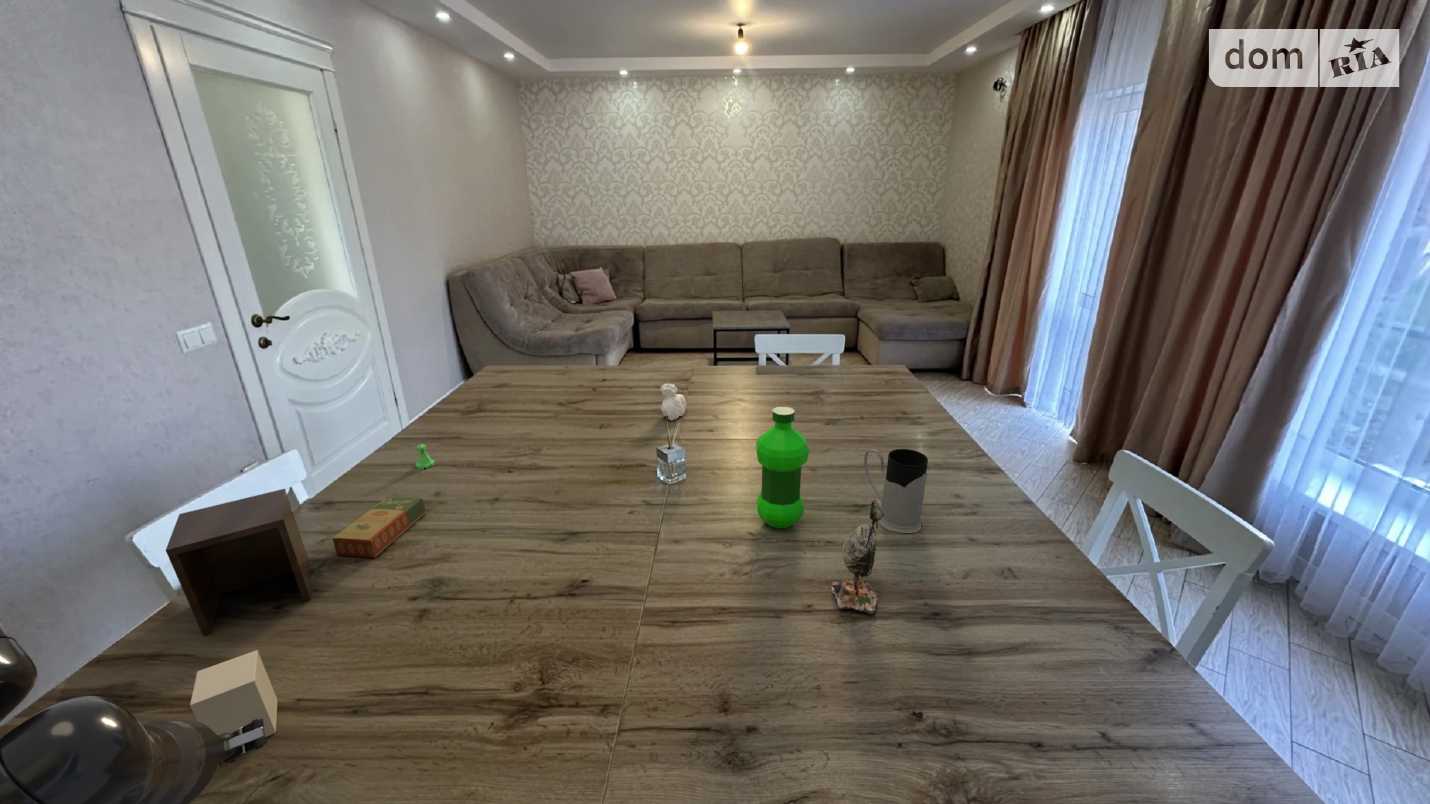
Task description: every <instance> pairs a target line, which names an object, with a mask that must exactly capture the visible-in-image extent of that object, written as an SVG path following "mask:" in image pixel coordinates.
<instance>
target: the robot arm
mask: <svg viewBox="0 0 1430 804" xmlns="http://www.w3.org/2000/svg"><path fill="white" fill-rule="evenodd" d="M37 679H38V670H37V666H36V664H35V662H34V660H33V658H32V657H31V656H30V655H29V653H28V652H27V651H26V650H25V648H24V647H23V646H22V645H21V644H20V643H19V641H18V640H17V639H16V638H15V637H14V635H13V634H12V633H11V632H10V630H9V629H8V628H7V626H5V624H4V623H3V622H2V621H1V620H0V723H1V722H2V721H3V720H4V719H6V717H8V716H9V715H10V714H11V713H12V712H13V711H14V710H15V709H16V708H17V707H18V706H19V705H20V704H21V703H22V702H23V701H24V700H25V699H26V698H27V697H28V695H29V694H30V692H31V691H32V690H33V688H34V687H35V684H36V682H37ZM267 744H268V740H267V737H266V735H265V729H264V723H263V718H262V719H259V720H258V719H256V720H253V721H252V722H251V723H249V724H247V725H246V726H244V727H241V728H239V729H237V730H236V731H235V732H233V733H224V734H220V735H217V734H216V733H215V732H214V731H213V730H212V729H210V728H209V727H208V726H206V725H205V724H203V723H200V722H198V721H197V720H191V719H164V720H163V719H158V720H148V721H146V720H145V721H139V719H138V718H137V717H136V716H135V714H133V712H131V711H130V710H129V709H128V708H126V707H125V706H123V704H121V703H119V702H117V701H114V700H112V699H110V698H106V697H103V696H99V695H83V696H78V697H77V696H76V697H73V698H69V699H66V700H63V701H60V702H57V703H55V704H53V705H51V706H48V707H47V708H44V709H42V710H40V711H39V712H37V713H35V714H33V715H32V716H30V717H28V718H27V719H26V720H24V721H22V722H21V723H20V724H18V725H16V726H15V727H14V728H12V729H11V730H10V731H8V732H6V733H4V735H3V736H1V737H0V804H190V803H191V802H193V801H194V800H195V799H196V798H197V797H198V796H199V795H200V794H201V793H202V792H203V791H204V790H205V788H207V786H208V785H209V783H211V782H210V781H211V780H212V778H213V777H214V775H215V774H216V772H217V770H218V769H221V768H223V766H224V765H226V764H228V763H229V764H233V763H235V762H237V760H238V759H241V758H242V757H244V756H246V755H248V754H249V753H252V752H253V751H255V750H259V749H262V748H264V747H263V746H266V745H267Z"/></svg>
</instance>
